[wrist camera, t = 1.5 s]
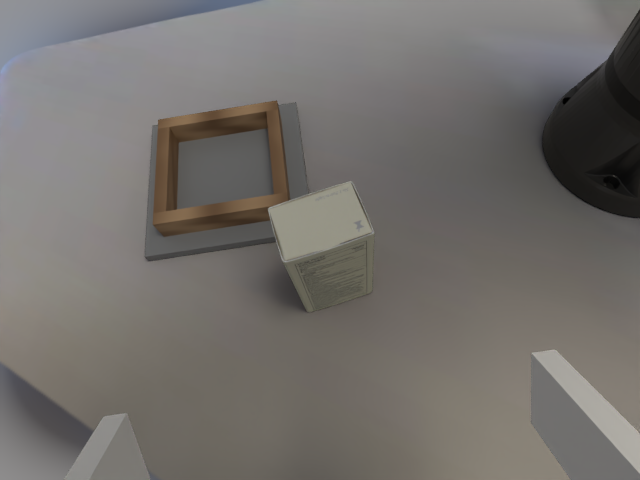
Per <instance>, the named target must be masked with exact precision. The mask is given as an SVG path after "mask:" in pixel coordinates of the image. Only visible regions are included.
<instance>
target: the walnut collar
mask: <svg viewBox="0 0 640 480" xmlns="http://www.w3.org/2000/svg"><path fill="white" fill-rule="evenodd" d="M267 128H268V135H269V146H270V157H271V168H272V178H273V189H274V194H273V195H266V196H260V197H254V198H247V199H241V200H235V201H228V202H222V203H215V204H209V205H203V206H196V207H190V208H184V209H177V194H178V155H179V143H180V142H186V141H192V140H198V139H204V138H211V137H217V136H223V135H229V134H236V133H242V132H248V131H254V130H260V129H267ZM289 200H290V192H289V183H288V174H287V165H286V156H285V147H284V139H283V130H282V121H281V115H280V111H279V107H278V103H277V101H271V102H265V103H259V104H253V105H246V106H240V107H234V108H228V109H222V110H216V111H209V112H203V113H197V114H191V115H185V116H178V117H172V118H166V119H160V120H158V135H157V153H156V171H155V190H154V208H153V226H154V227H155V228H156V229H157V230H158V231H159V232H160V233H161V234H162V235H163V236H164V237H167V236H173V235H180V234H186V233H193V232H199V231H206V230H212V229H218V228H225V227H231V226H238V225H244V224H251V223H257V222H263V221H270V216H269V212H268V208H270V207H272V206H275V205H278V204H281V203H283V202H287V201H289Z"/></svg>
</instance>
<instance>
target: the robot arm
mask: <svg viewBox="0 0 640 480" xmlns="http://www.w3.org/2000/svg"><path fill="white" fill-rule="evenodd" d="M543 149H544V154H545V157H546V159H547V162H548V164H549V166H550V168H551V169H552V171H553V172H554V174H555V175H556V176H557V178H558V179H559V180H560V181H561V182H562V183H563V184H564V185H565V186H566V187H567V188H568V189H569V190H570V191H572V192H573V193H574V194H576V195H577V196H578V197H580V198H581V199H583V200H585V201H586V202H588V203H590V204H592V205H594V206H596V207H598V208H601V209H603V210H606V211H609V212H612V213H615V214H620V215H624V216H630V217H639V218H640V10H639V11H638V13H637V14H636V16H635V17H634V19H633V20H632V22H631V23H630V25H629V27H628V28H627V30H626V31H625V33H624V34H623V36H622V37H621V39H620V40H619V42H618V44H617V45H616V47H615V49H614V50H613V52H612V53H611V55H610V56H609V58H608V59H607V60H606V61H605V62H604V63H603V64H601V65H600V66H599V67H598V68H597V69H595V70H594V71H593V72H592V73H590V74H589V75H588V76H587V77H586V78H584V79H583V80H582V81H581V82H580V83H578V84H577V85H576V86H575V87H574V88H572V89H571V90H570V91H569V92H567V93H566V94H565V95H564V96H563V97H562V99H561V100H560V101H559V102H558V104H557V105H556V107H555V108H554V110H553V112H552V114H551V115H550V117H549V119H548V121H547V123H546V125H545V128H544V132H543ZM531 424H532V425H533V426H534V428H535V429H536V431H537V432H538V434H539V435H540V436H541V438H542V439H543V441H544V442H545V444H546V445H547V446H548V448H549V449H550V451H551V452H552V454H553V455H554V456H555V458H556V459H557V461H558V462H559V463H560V465H561V466H562V468H563V469H564V471H565V472H566V473H567V475H568V476H569V478H570V479H571V480H640V433H639V432H638V431H637V430H636V429H635V428H634V427H633V426H632V425H631V424H630V423H629V422H628V421H627V420H626V419H625V418H624V417H623V416H622V415H621V414H620V413H619V412H618V411H617V410H616V409H615V408H614V407H613V406H612V405H611V404H610V403H609V402H608V401H607V400H606V399H605V398H604V397H603V396H602V395H601V394H600V393H599V392H598V391H597V390H596V389H595V388H594V387H593V386H592V385H591V384H590V383H589V382H588V381H587V380H586V379H585V378H583V377H582V376H581V375H580V374H579V373H578V372H577V371H576V370H575V369H574V368H573V367H572V366H571V365H570V364H569V363H568V362H567V361H566V360H565V359H564V358H563V357H562V356H561V355H560V354H559V353H558V352H557V351H556V350H548V351H541V352H535V353H531ZM64 480H150V476H149V473H148V470H147V468H146V465H145V462H144V459H143V456H142V454H141V451H140V448H139V445H138V442H137V440H136V437H135V434H134V431H133V428H132V426H131V423H130V420H129V417H128V414H127V413H123V414H116V415H109V416H104V417H103V418H102V420H101V421H100V423H99V425H98V426H97V428H96V429H95V431H94V432H93V434H92V436H91V437H90V439H89V440H88V442H87V443H86V445H85V447H84V448H83V450H82V451H81V453H80V455H79V456H78V458H77V459H76V461H75V463H74V464H73V466H72V467H71V469H70V470H69V472H68V474H67V475H66V477H65V478H64Z"/></svg>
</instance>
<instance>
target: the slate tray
mask: <svg viewBox="0 0 640 480" xmlns="http://www.w3.org/2000/svg"><path fill="white" fill-rule="evenodd" d="M278 107H279V111H280V115H281V121H282V130H283V139H284V147H285V156H286V165H287V174H288V183H289V192H290V200H292V199H295V198H298V197H301V196H304V195H307V194H309V192H308V184H307V177H306V170H305V162H304V155H303V148H302V140H301V133H300V126H299V118H298V111H297V105H296V102H295V103H289V104H282V105H278ZM157 135H158V125H153V128H152V145H151V161H150V177H149V193H148V210H147V226H146V242H145V258H146V259H148V260H149V261H153V260H159V259H166V258H172V257H179V256H185V255H192V254H198V253H205V252H211V251H218V250H224V249H231V248H237V247H244V246H250V245H257V244H263V243H270V242H276V239H275V236H274V232H273V228H272V224H271V220H270V221H263V222H257V223H251V224H244V225H238V226H231V227H225V228H218V229H212V230H206V231H199V232H193V233H186V234H180V235H173V236H167V237H164V236H163V235H162V234H161V233H160V232H159V231H158V230H157V229H156V228H155V227H154V226H153V208H154V190H155V171H156V153H157ZM273 194H274V189H273V178H272V168H271V157H270V146H269V135H268V128H267V129H260V130H254V131H248V132H242V133H236V134H229V135H223V136H217V137H211V138H204V139H198V140H192V141H186V142H180V143H179V155H178V194H177V209H184V208H190V207H196V206H203V205H209V204H215V203H222V202H228V201H235V200H241V199H247V198H254V197H260V196H266V195H273Z"/></svg>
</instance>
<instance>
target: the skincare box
mask: <svg viewBox="0 0 640 480" xmlns="http://www.w3.org/2000/svg"><path fill="white" fill-rule="evenodd" d="M268 212H269V216H270V220H271V224H272V228H273V232H274V236H275V239H276V243H277V246H278V250H279V253H280V256H281V260H282V262H283V264H284V266H285V268H286V270H287V272H288V274H289V276H290V278H291V280H292V282H293V284H294V286H295V288H296V290H297V292H298V294H299V296H300V298H301V300H302V303H303V305H304V307H305V309H306V311H307V312H313V311H317V310H320V309H323V308H326V307H330V306H333V305H336V304H339V303H342V302H345V301H348V300H351V299H354V298H357V297H360V296H363V295H366V294H368V293H371V292H372V288H373V260H374V230H373V228H372V225H371V222H370V220H369V217H368V215H367V212H366V210H365V208H364V205H363V203H362V200H361V198H360V196H359V194H358V192H357V190H356V187H355V185H354V183H353V182H352V181H350V182H346V183H342V184H339V185H335V186H332V187H329V188H326V189H323V190H319V191H316V192H313V193H310V194H307V195H304V196H301V197H298V198H295V199H292V200H289V201H287V202H283V203H281V204H278V205H275V206H272V207H270V208H268Z"/></svg>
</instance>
